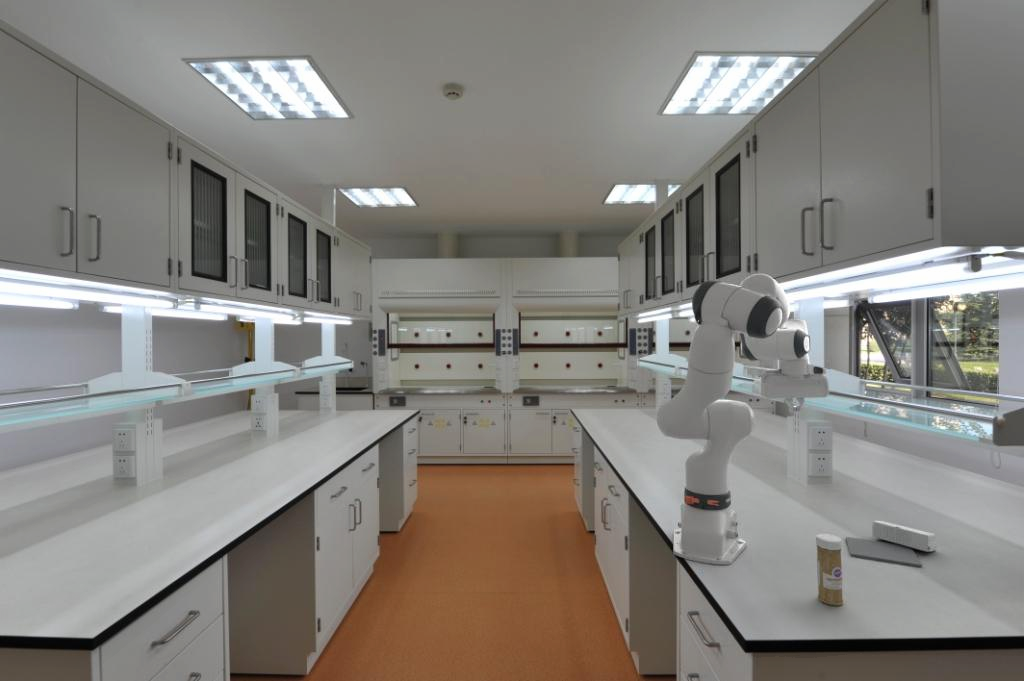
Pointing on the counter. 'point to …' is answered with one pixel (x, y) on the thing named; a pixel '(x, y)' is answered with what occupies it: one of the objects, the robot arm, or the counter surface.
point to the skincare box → (904, 536)
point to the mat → (882, 551)
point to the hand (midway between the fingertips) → (794, 412)
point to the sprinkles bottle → (829, 569)
